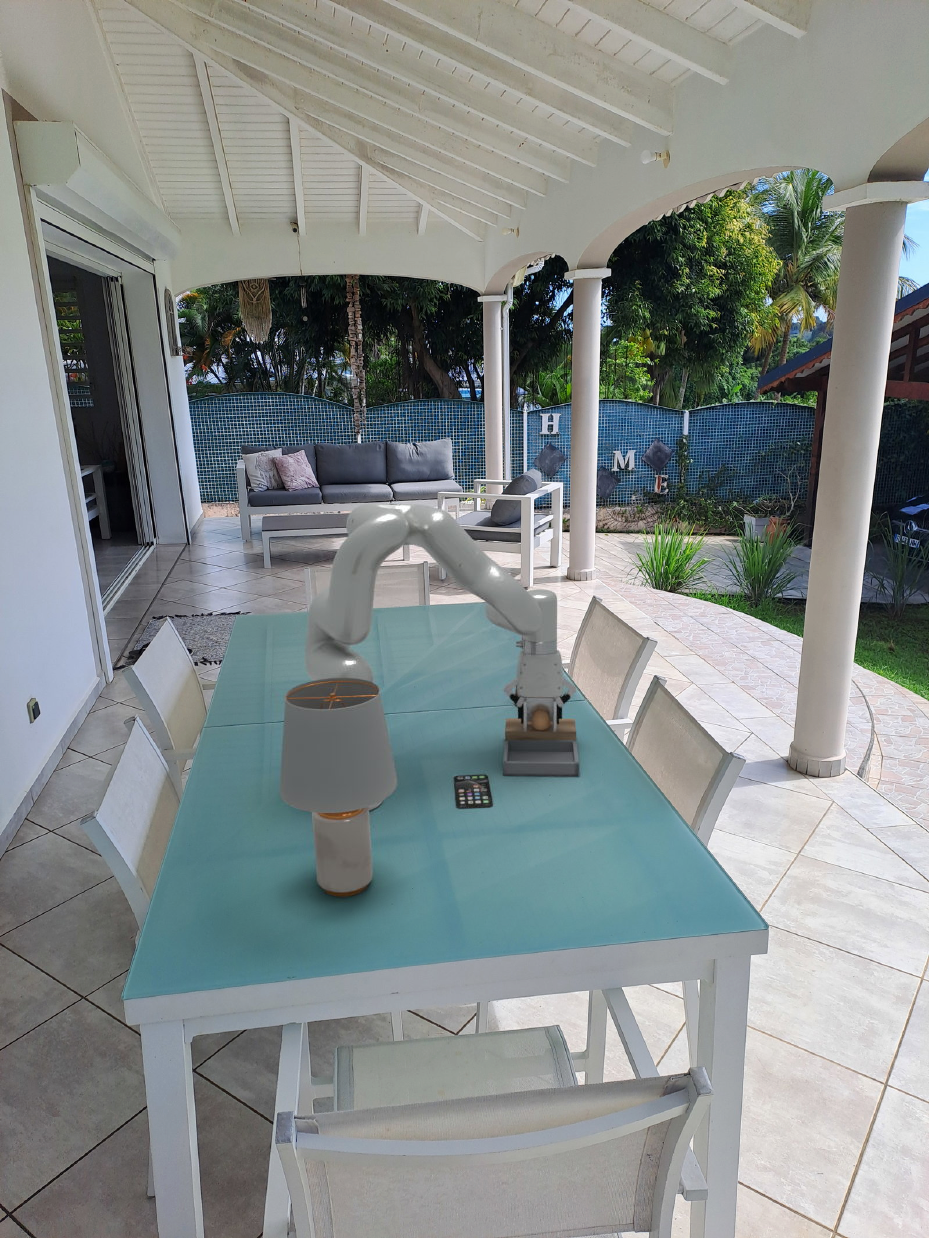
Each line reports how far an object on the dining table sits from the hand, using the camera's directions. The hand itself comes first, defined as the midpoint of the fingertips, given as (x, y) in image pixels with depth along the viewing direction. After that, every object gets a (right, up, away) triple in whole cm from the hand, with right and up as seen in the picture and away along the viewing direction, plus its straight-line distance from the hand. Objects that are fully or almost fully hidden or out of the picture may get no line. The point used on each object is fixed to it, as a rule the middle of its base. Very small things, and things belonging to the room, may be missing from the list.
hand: (539, 721), depth 195 cm
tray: (0, -9, -5) cm, 10 cm away
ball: (0, 0, +1) cm, 1 cm away
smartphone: (-15, -13, -17) cm, 26 cm away
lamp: (-37, -22, -49) cm, 65 cm away
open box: (0, -1, 0) cm, 1 cm away
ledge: (+1, -6, +5) cm, 8 cm away
